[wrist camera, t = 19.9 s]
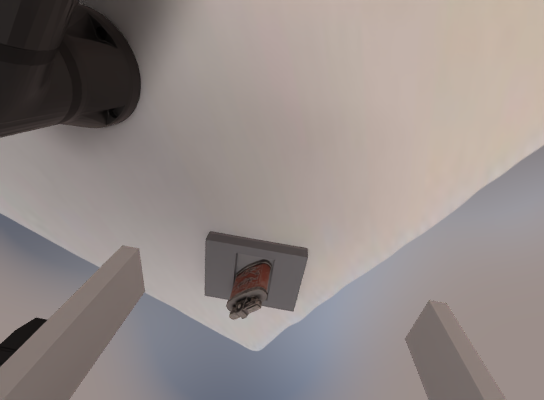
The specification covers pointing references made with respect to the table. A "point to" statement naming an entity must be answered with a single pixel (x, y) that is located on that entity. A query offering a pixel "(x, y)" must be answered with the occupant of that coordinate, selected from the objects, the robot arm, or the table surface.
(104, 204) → the table surface
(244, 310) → the lighter
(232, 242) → the dock
